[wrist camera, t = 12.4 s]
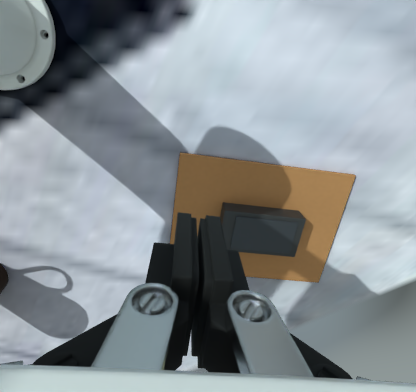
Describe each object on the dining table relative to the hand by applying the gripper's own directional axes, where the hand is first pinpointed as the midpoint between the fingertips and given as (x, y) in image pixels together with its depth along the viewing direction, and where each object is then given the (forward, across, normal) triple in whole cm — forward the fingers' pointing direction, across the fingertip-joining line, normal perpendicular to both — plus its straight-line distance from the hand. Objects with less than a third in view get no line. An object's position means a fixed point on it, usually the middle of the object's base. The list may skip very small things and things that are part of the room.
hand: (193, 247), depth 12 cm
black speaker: (+25, -6, +12) cm, 28 cm away
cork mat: (+27, -11, +12) cm, 32 cm away
